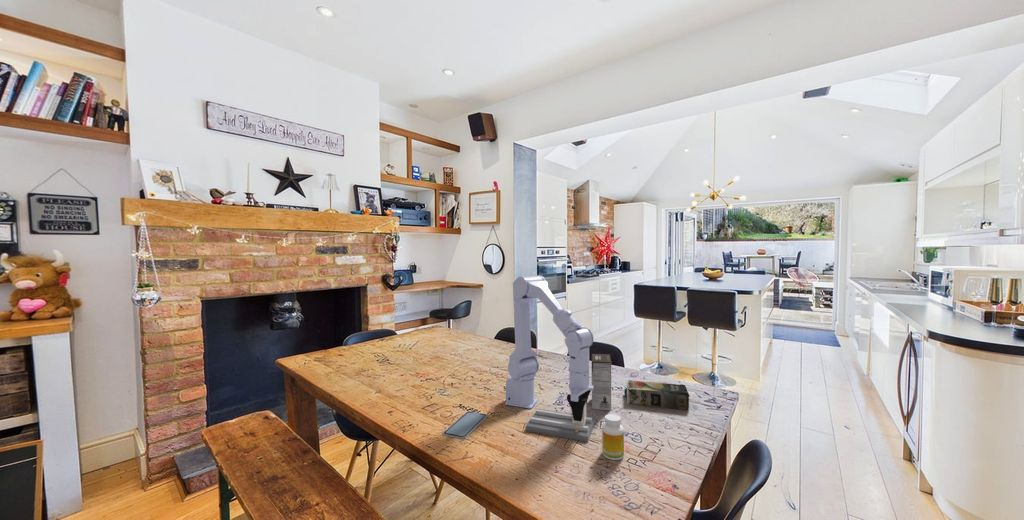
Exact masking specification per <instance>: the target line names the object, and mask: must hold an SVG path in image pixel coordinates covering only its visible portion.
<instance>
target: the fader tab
mask: <svg viewBox="0 0 1024 520" xmlns="http://www.w3.org/2000/svg"><path fill="white" fill-rule="evenodd" d="M571 414H572V413H571ZM586 416H587V405H586V402H585V405H584V409H583V416H582V420H581V421H575V420H574V419H573V414H572V424H576V425H582V426H585V423H586Z"/></svg>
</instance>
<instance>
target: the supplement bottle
mask: <svg viewBox="0 0 1024 520" xmlns="http://www.w3.org/2000/svg"><path fill="white" fill-rule="evenodd" d="M601 453H602V455H603V457H605V458H607V459H609V460H612V461H619V460H622V459H623V458H625V457H624V456H625V430H624V427H623V425H622V417H621V416H620V415H618V414H614V413H608V414H606V415H605V416H604V423H603V424H602V427H601Z"/></svg>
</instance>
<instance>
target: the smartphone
mask: <svg viewBox="0 0 1024 520" xmlns="http://www.w3.org/2000/svg"><path fill="white" fill-rule="evenodd" d="M487 417H488V416H487V414H486V413H482V412H475V411H470V410H469V411H466V412H465V413H463V415H461V416H460V417H459V418H458V419H457V420H455V421H454V423H452V424H451V425H450V426H449V427H447V428H446V430H444V431H443V432H442V434H443V436H446V437H452V438H455V439H460V440H463V439H466V438H467V437H468V436H469V435H471V434H472V432H474V431H475V430H476V429H477V428H478V427H479V426H480V425H481V424H482V423H483V422H484V421H485V420H486V419H487Z"/></svg>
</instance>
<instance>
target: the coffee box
mask: <svg viewBox="0 0 1024 520" xmlns="http://www.w3.org/2000/svg"><path fill="white" fill-rule="evenodd" d="M611 358H612V357H611V354H610V353H609V354H607V353H606V354H605V353H603V354H602V353H591V385H592V386H594V389H593V390H591V409H592V410H598V411H599V410H601V411H612V359H611Z"/></svg>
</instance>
